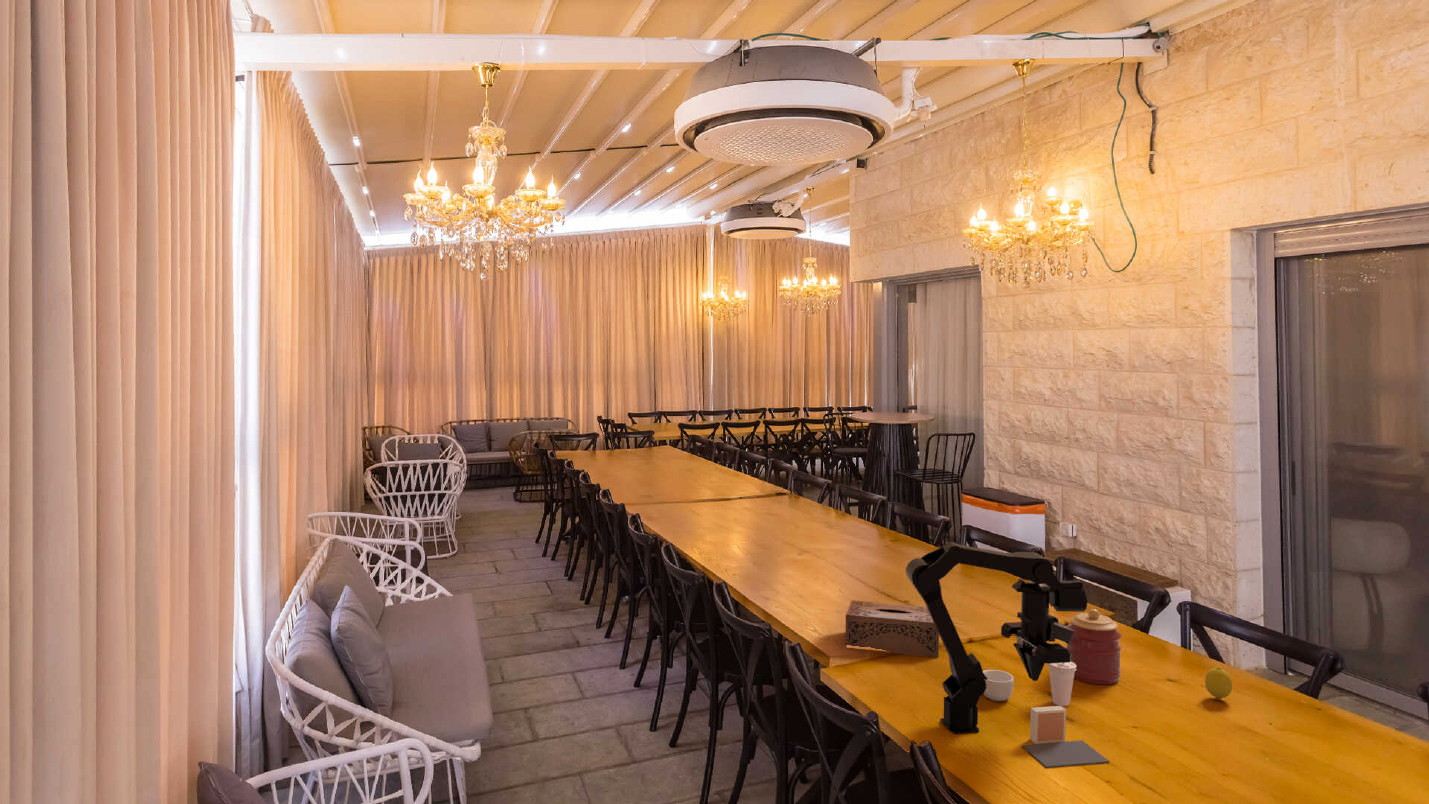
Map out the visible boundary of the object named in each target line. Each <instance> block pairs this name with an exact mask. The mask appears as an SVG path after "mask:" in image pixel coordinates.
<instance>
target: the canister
mask: <svg viewBox="0 0 1429 804" xmlns="http://www.w3.org/2000/svg"><path fill="white" fill-rule="evenodd" d="M1069 621H1070V624H1068V625H1067V626H1066V627H1068V628H1070V629H1072V630H1074V634H1073V637H1072V640H1071V642H1070V644H1067V643H1066V648H1067V649H1068V650H1069V651H1070V652H1071V662H1073V663H1075V664H1076V671H1075V673H1074V679H1075V680H1078V681H1081V682H1084V683H1088V684H1093V685H1113V684H1115V683H1118V682H1119V681H1120V678H1121V668H1120V667H1121V650H1122V647H1121V645H1120V639H1121V638H1122V633H1121V632H1120V631H1119V630H1118V627H1119V625H1118V623H1117V622H1116V621H1114V620H1113V619H1112V618H1110V617H1109V616H1107V615H1103V614H1100V612H1099V610H1098V609H1095V608H1091V609H1090V610H1089V611H1088V612H1080V613H1077V614H1076V615H1073V616H1072V617H1070V618H1069Z"/></svg>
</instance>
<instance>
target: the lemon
mask: <svg viewBox="0 0 1429 804" xmlns="http://www.w3.org/2000/svg"><path fill="white" fill-rule="evenodd" d="M1204 684H1205V688H1206V690H1207V692H1208V693H1209V694H1210V695H1211V696H1212V697H1214V698H1215V699H1216V700H1221V699H1225V698H1226V697H1227V698H1228V697H1229V696H1230V695H1231V693H1232V690H1233V681H1232V678H1231V675H1230V674H1229V673H1228V671H1226V670H1225V669H1223V668H1222V667H1220V666H1217V667H1213V668H1211V669H1209V670H1208V671H1207V672H1206V675H1205V680H1204Z"/></svg>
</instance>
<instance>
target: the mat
mask: <svg viewBox="0 0 1429 804" xmlns="http://www.w3.org/2000/svg"><path fill="white" fill-rule="evenodd" d="M1021 747H1022V748H1024V750H1026V752H1028V753H1029V754H1030V755H1031V756H1032V757H1033V758H1034V759H1035V760H1037V762H1039V764H1041V765H1043V766H1044V768H1046V769H1050V768H1051V769H1052V768H1060V767H1071V766H1073V767H1074V766H1085V765H1095V764H1107V763H1110V760H1109V759H1107V758H1106V757H1105V756H1103V755H1102V754H1101V753H1099V752H1098V751H1097V750H1096V749H1094V747H1092V746H1090V745H1089V744H1088V743H1087V742H1085V741H1084V739H1080V740H1069V741H1068V740H1065V741H1064V742H1051V743H1038V744H1035V743H1029V744H1022V745H1021Z"/></svg>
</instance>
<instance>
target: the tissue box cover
mask: <svg viewBox="0 0 1429 804" xmlns="http://www.w3.org/2000/svg"><path fill="white" fill-rule="evenodd" d="M844 644H845V645H851V646H859V647H871V648H875V649H882V650H886V651H889V652H888V653H889V654H891V653H892V654H899V655H909V656H910V655H911V656H919V657H928V658H929V657H930V658H936V659H937V658H940V649H939V648H940V635H939V633H938V631H937V629H936V626H935V624H934V622H933V620H932V617H931V615H930V613H929V611H928V608H927V606H926V605H925V606H924V605H923V606H922V605H910V604H899V603H888V602H879V601H877V602H875V601H868V600H867V601H865V600H855V599H851V600H850V604H849V606H848V608H847V611H846V613H845V643H844ZM845 645H844V646H845Z"/></svg>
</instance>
